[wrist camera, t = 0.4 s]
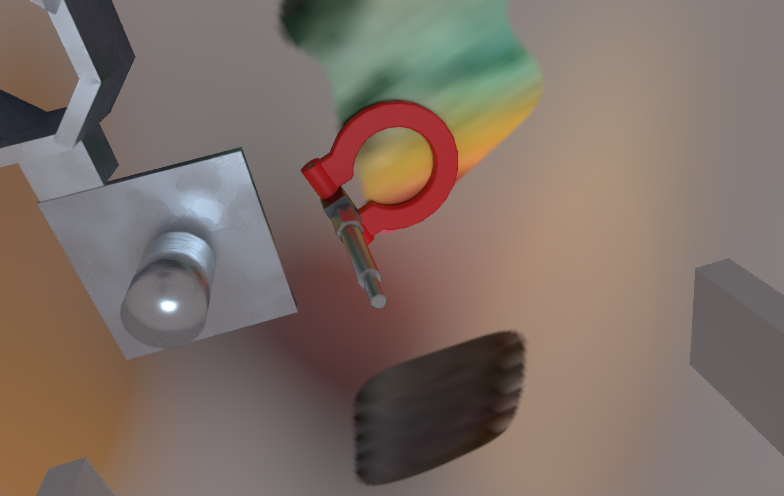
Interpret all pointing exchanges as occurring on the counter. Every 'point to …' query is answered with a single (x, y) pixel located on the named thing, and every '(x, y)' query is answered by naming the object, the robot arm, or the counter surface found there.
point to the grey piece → (71, 105)
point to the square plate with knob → (174, 252)
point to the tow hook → (373, 217)
